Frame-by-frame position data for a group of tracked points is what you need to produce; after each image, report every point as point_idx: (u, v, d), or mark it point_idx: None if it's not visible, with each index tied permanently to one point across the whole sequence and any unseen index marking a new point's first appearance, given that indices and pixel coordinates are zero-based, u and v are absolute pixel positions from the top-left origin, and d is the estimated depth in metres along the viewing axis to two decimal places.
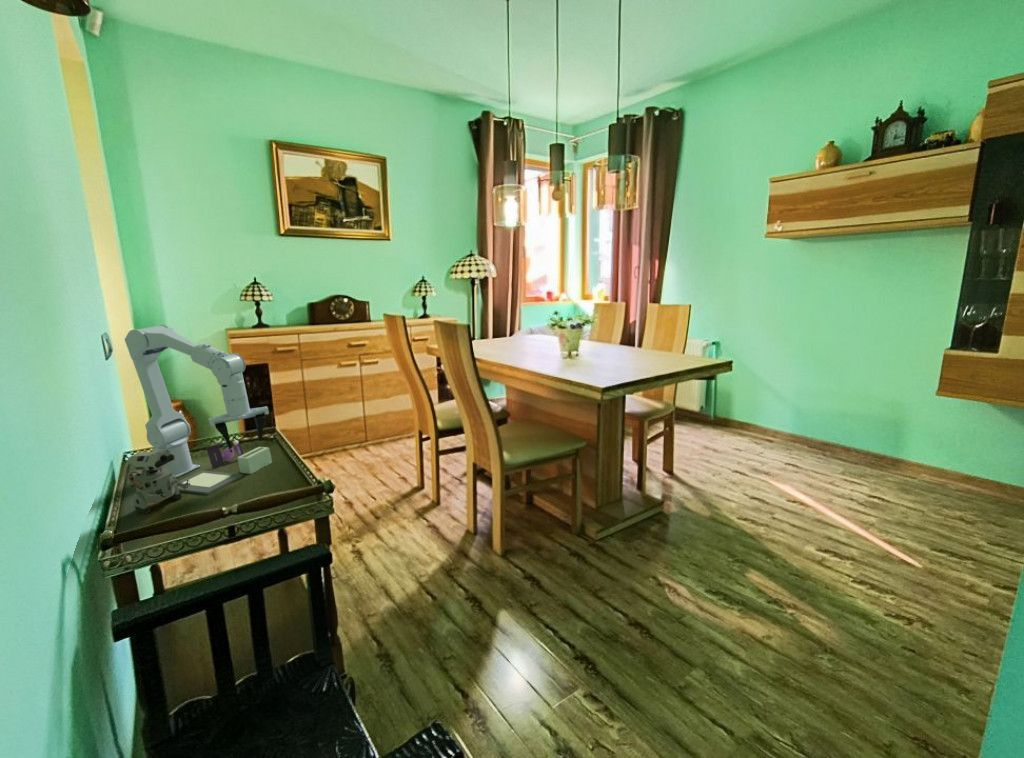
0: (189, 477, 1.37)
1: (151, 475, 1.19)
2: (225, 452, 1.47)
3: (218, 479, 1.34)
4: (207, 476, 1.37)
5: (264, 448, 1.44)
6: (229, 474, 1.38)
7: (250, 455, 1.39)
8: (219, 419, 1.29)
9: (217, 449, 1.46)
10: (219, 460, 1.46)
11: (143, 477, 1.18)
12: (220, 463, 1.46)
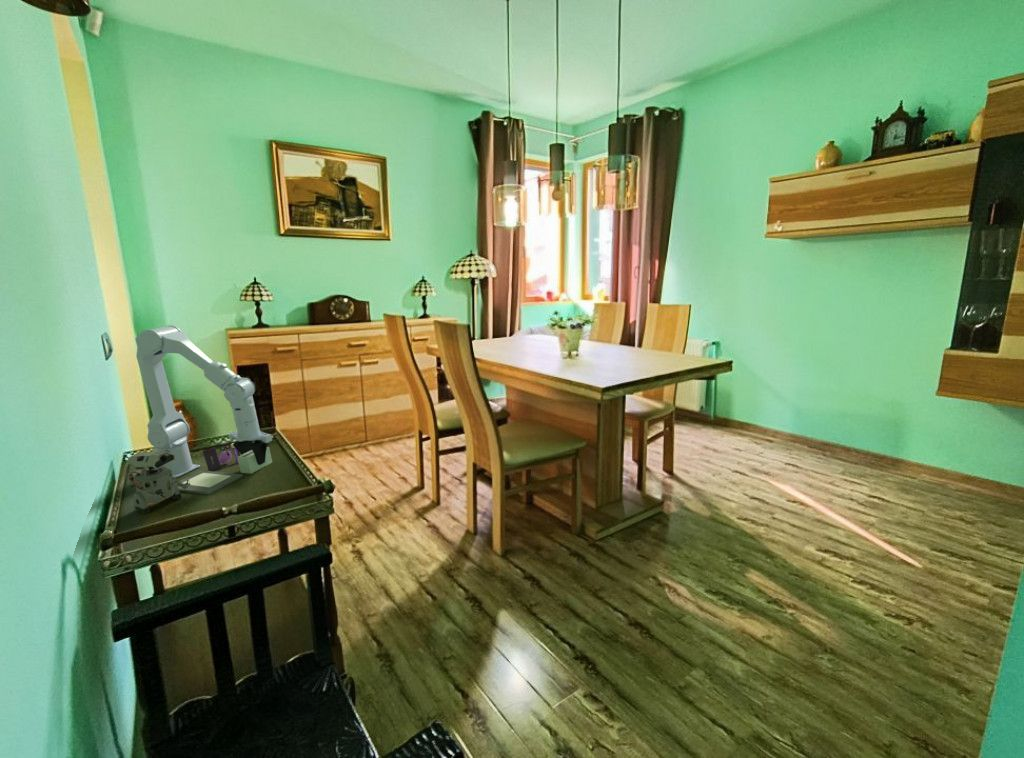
0: (189, 477, 1.37)
1: (151, 475, 1.19)
2: (222, 455, 1.45)
3: (218, 479, 1.34)
4: (207, 476, 1.37)
5: None
6: (229, 474, 1.38)
7: (250, 455, 1.39)
8: (232, 436, 1.41)
9: (214, 452, 1.43)
10: (216, 463, 1.43)
11: (143, 477, 1.18)
12: (216, 466, 1.43)
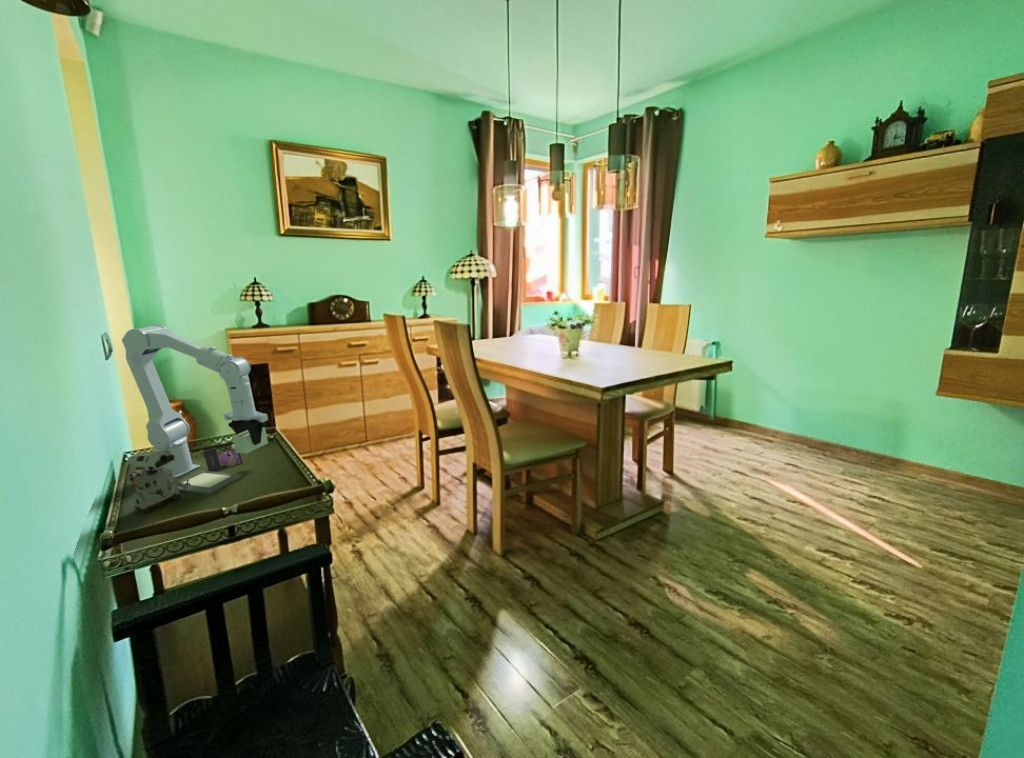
0: (189, 477, 1.37)
1: (151, 475, 1.19)
2: (223, 456, 1.44)
3: (218, 479, 1.34)
4: (207, 476, 1.37)
5: None
6: (229, 474, 1.38)
7: (245, 434, 1.38)
8: (228, 415, 1.39)
9: (214, 453, 1.43)
10: (216, 464, 1.43)
11: (143, 477, 1.18)
12: (217, 467, 1.43)
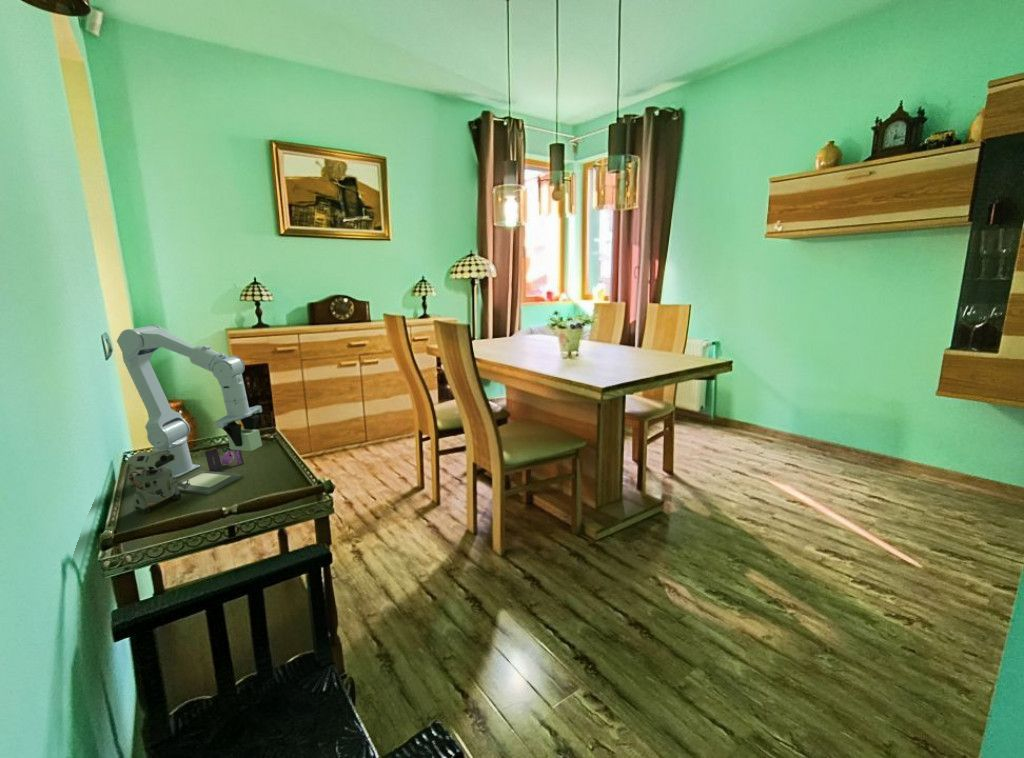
0: (189, 477, 1.37)
1: (151, 475, 1.19)
2: (224, 456, 1.44)
3: (218, 479, 1.34)
4: (207, 476, 1.37)
5: None
6: (229, 474, 1.38)
7: (251, 430, 1.39)
8: (228, 420, 1.33)
9: (216, 453, 1.43)
10: (217, 464, 1.42)
11: (143, 477, 1.18)
12: (218, 467, 1.42)
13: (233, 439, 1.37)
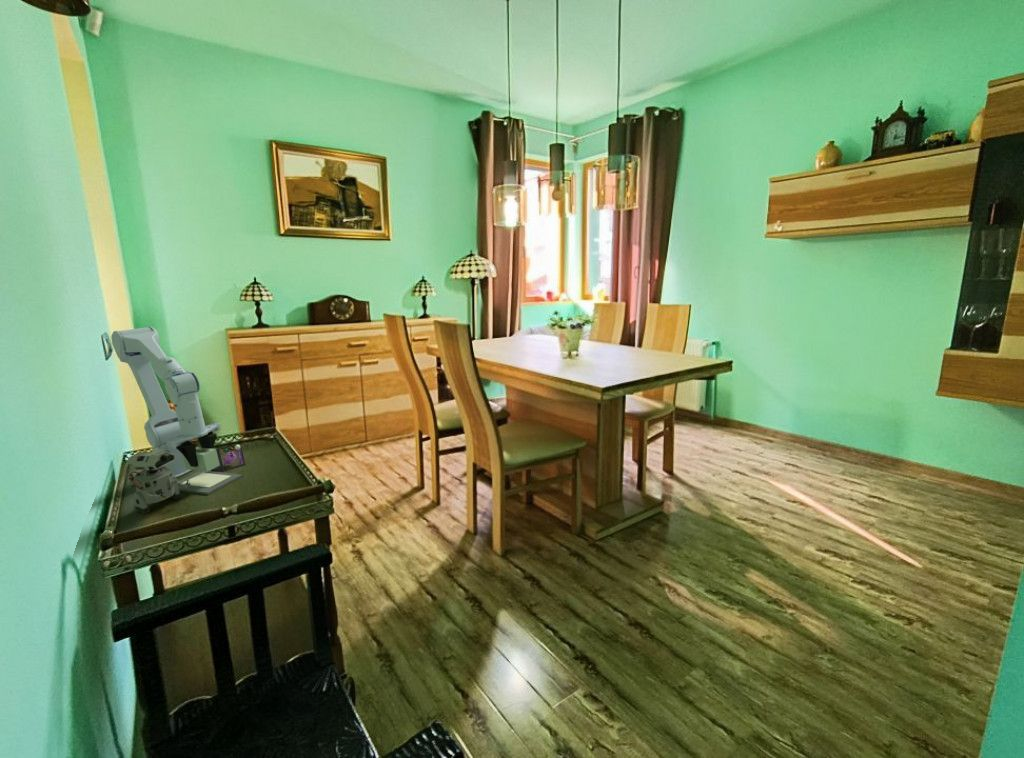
0: (189, 477, 1.37)
1: (151, 475, 1.19)
2: (226, 456, 1.44)
3: (218, 479, 1.34)
4: (207, 476, 1.37)
5: None
6: (229, 474, 1.38)
7: (207, 449, 1.33)
8: (181, 440, 1.26)
9: (217, 453, 1.42)
10: None
11: (143, 477, 1.18)
12: (219, 467, 1.42)
13: (188, 459, 1.31)
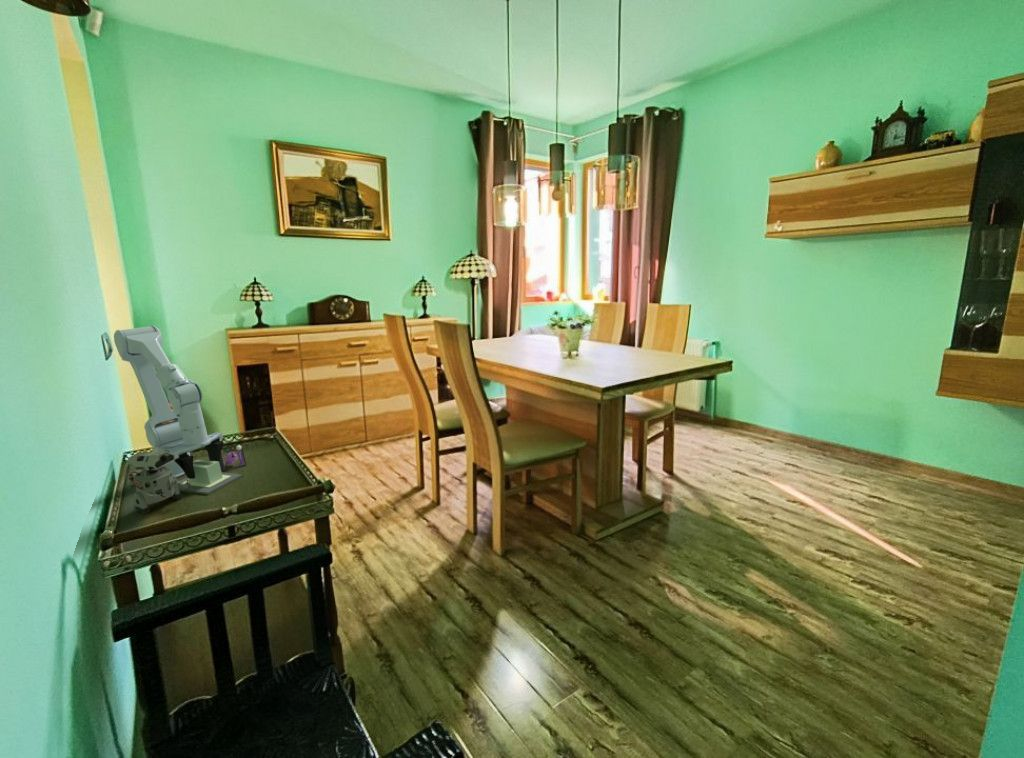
0: None
1: (151, 475, 1.19)
2: (227, 457, 1.43)
3: None
4: None
5: (197, 461, 1.35)
6: (229, 474, 1.38)
7: (211, 462, 1.34)
8: (183, 450, 1.27)
9: None
10: (220, 465, 1.42)
11: (143, 477, 1.18)
12: (220, 467, 1.42)
13: (185, 471, 1.30)
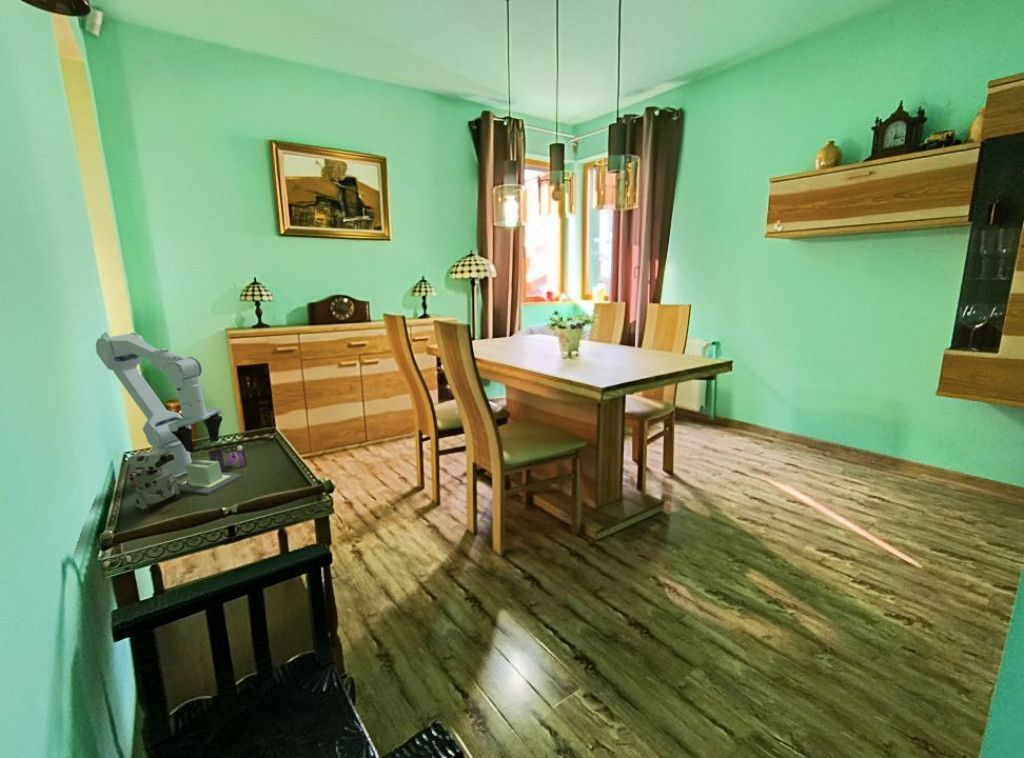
0: None
1: (151, 475, 1.19)
2: (228, 457, 1.43)
3: None
4: None
5: (197, 461, 1.35)
6: (229, 474, 1.38)
7: (211, 462, 1.34)
8: (182, 423, 1.30)
9: (220, 453, 1.42)
10: (220, 465, 1.42)
11: (143, 477, 1.18)
12: (221, 467, 1.42)
13: (184, 444, 1.33)
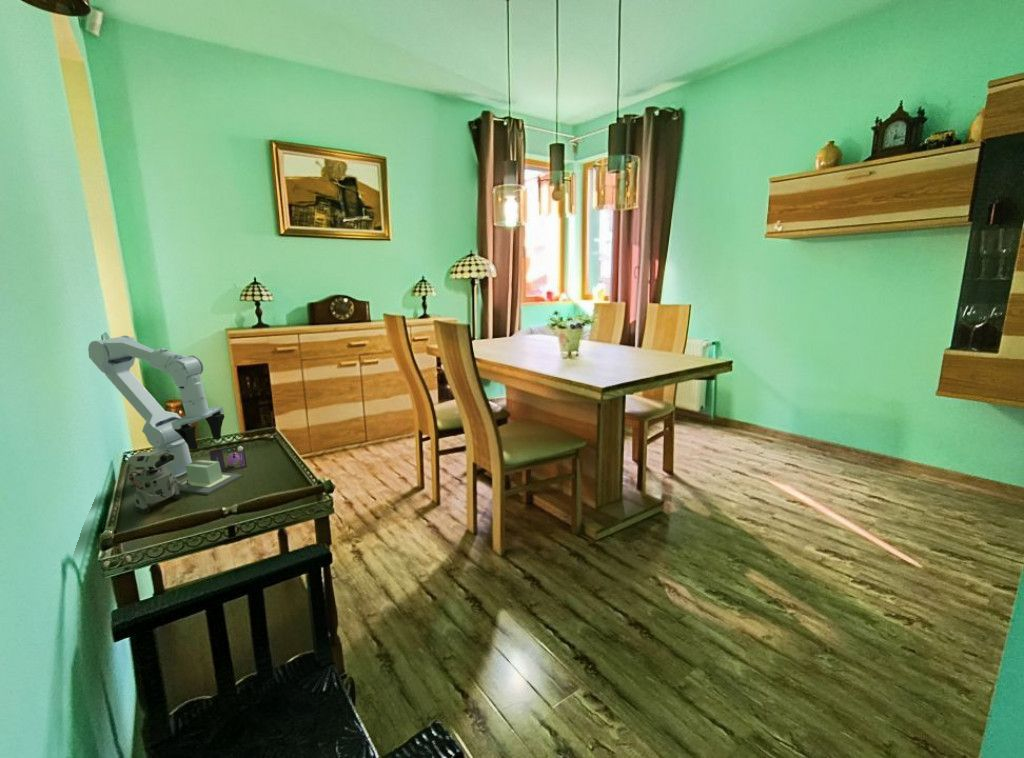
0: None
1: (151, 475, 1.19)
2: (228, 457, 1.43)
3: None
4: None
5: (197, 461, 1.35)
6: (229, 474, 1.38)
7: (211, 462, 1.34)
8: (185, 420, 1.31)
9: (220, 453, 1.42)
10: (221, 465, 1.42)
11: (143, 477, 1.18)
12: (221, 468, 1.42)
13: (187, 442, 1.34)
